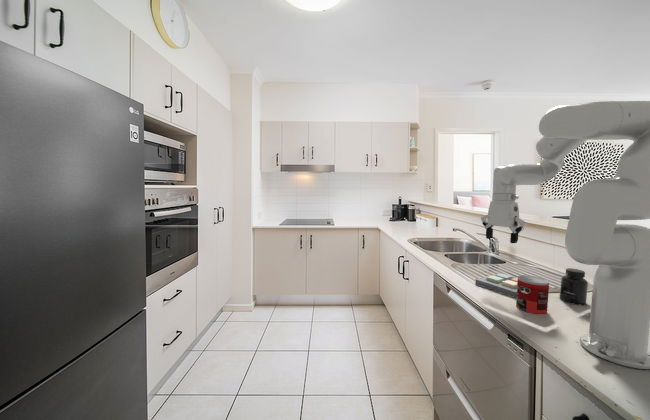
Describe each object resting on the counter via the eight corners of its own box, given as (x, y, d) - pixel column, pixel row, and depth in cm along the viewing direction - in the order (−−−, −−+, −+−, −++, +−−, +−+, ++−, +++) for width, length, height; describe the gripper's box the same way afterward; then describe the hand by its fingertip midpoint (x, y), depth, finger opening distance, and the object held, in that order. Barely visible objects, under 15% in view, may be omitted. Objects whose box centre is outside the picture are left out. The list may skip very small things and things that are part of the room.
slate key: (506, 282, 106) (506, 277, 106) (495, 279, 110) (495, 274, 109) (512, 281, 108) (512, 276, 107) (501, 277, 111) (501, 273, 111)
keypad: (514, 300, 94) (515, 292, 94) (475, 286, 108) (475, 279, 108) (540, 292, 102) (540, 284, 102) (500, 280, 115) (500, 273, 115)
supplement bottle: (562, 305, 90) (565, 271, 89) (556, 298, 96) (558, 266, 95) (589, 309, 87) (592, 274, 86) (581, 301, 93) (584, 268, 92)
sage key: (497, 285, 103) (497, 280, 103) (486, 281, 107) (486, 276, 107) (503, 283, 105) (503, 278, 105) (492, 280, 109) (493, 275, 109)
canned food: (514, 304, 91) (516, 273, 90) (543, 309, 87) (546, 277, 86) (517, 313, 84) (519, 280, 83) (549, 319, 80) (552, 285, 79)
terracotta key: (522, 287, 100) (522, 282, 100) (510, 284, 104) (510, 279, 104) (528, 285, 102) (529, 280, 102) (516, 282, 106) (517, 277, 106)
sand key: (513, 290, 98) (513, 285, 98) (501, 286, 102) (501, 281, 101) (520, 288, 100) (520, 283, 99) (508, 284, 103) (508, 279, 103)
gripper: (533, 198, 97) (530, 244, 98) (488, 197, 113) (486, 236, 114) (521, 199, 94) (518, 245, 95) (476, 197, 110) (474, 237, 111)
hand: (500, 240), depth 105 cm, fingers open, 9 cm apart
